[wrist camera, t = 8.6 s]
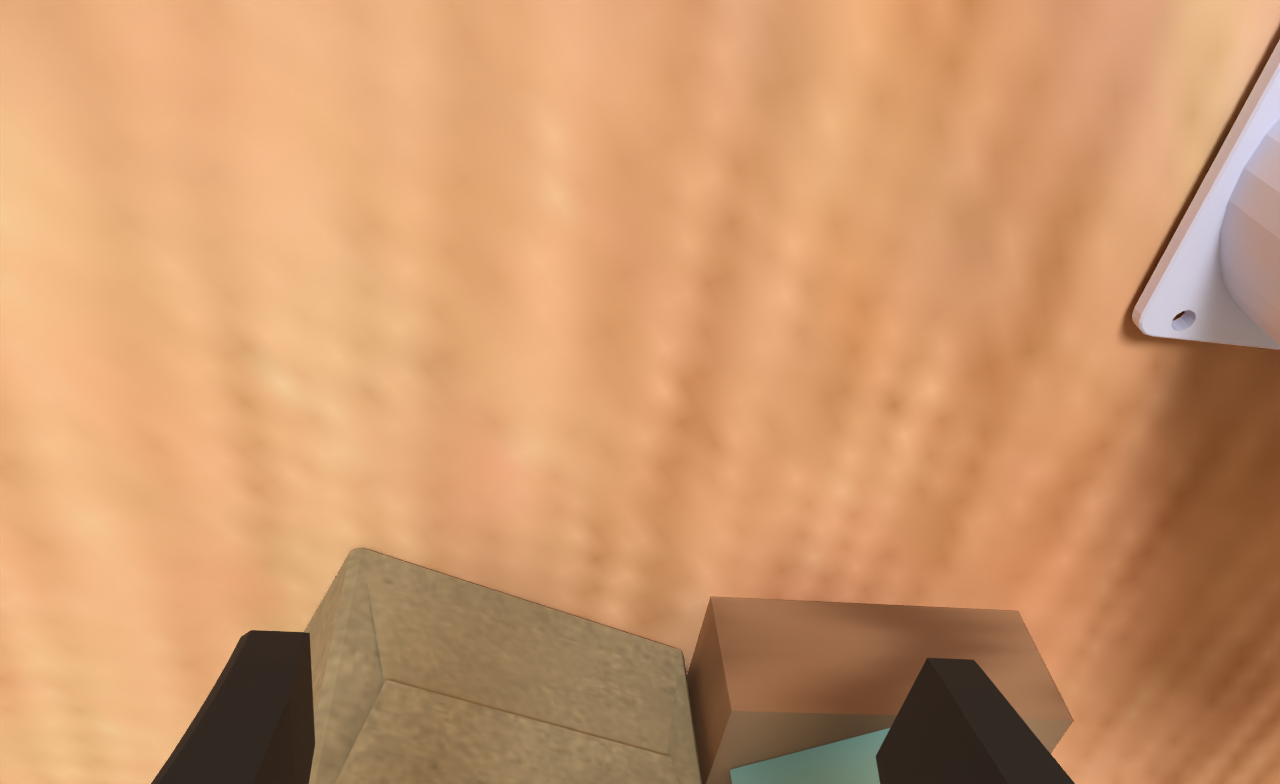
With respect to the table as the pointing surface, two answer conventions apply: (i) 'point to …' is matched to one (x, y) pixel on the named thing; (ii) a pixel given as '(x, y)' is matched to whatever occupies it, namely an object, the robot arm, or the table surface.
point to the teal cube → (819, 764)
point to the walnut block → (843, 673)
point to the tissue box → (486, 688)
